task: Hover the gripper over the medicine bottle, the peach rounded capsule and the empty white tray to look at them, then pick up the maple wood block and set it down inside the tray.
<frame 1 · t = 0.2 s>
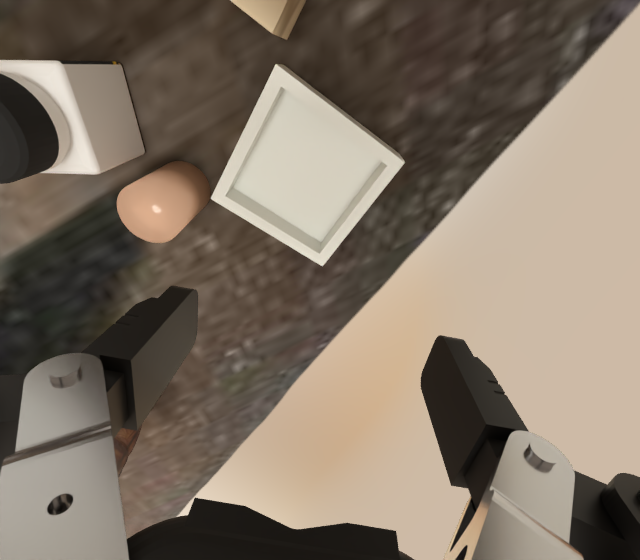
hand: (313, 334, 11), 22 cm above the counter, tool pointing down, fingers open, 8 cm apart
white tray: (306, 171, 30), on the counter
mortar and pestle: (150, 379, 49), on the counter
medicine bottle: (97, 110, 29), on the counter
peach rounded capsule: (185, 187, 32), on the counter
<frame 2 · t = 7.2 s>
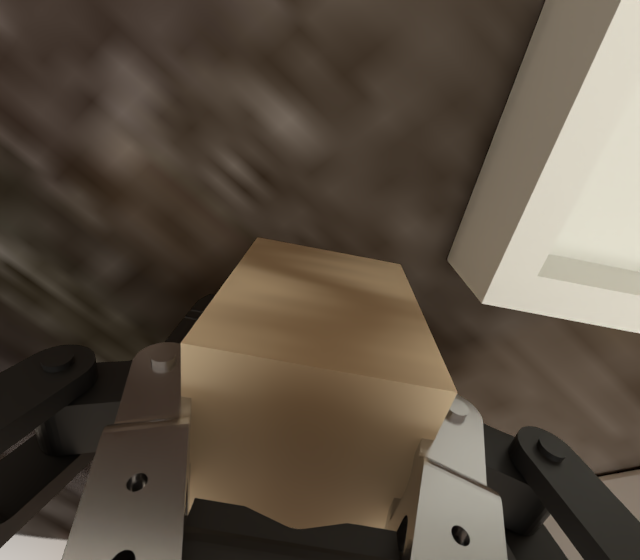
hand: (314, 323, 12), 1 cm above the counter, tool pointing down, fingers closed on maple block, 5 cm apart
maple block: (316, 312, 12), on the counter, touching gripper
medicine bottle: (590, 513, 17), on the counter
when the fingers open (4 cm above the counter, at t = 13.0 s): maple block drops 2 cm, resting on white tray.
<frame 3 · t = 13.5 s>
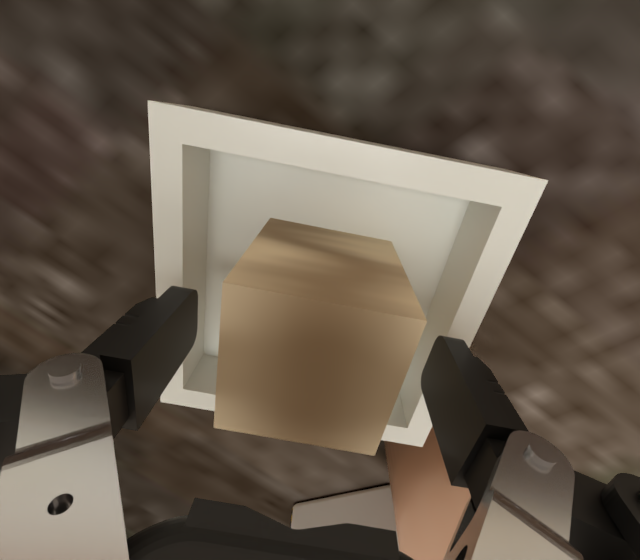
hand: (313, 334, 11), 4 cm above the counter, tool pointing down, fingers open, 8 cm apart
white tray: (320, 278, 15), on the counter
maple block: (320, 283, 14), point 1 cm above the counter, touching white tray
medicine bottle: (358, 519, 23), on the counter
peach rounded capsule: (427, 440, 19), on the counter
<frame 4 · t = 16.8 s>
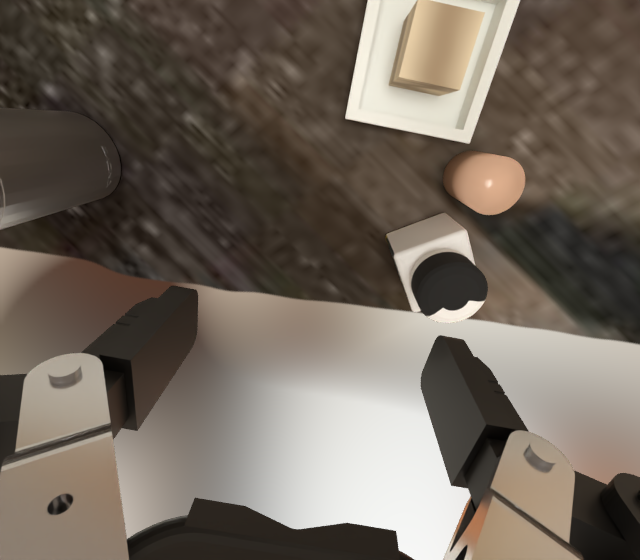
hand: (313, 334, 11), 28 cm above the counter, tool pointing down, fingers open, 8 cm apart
white tray: (420, 61, 31), on the counter
maple block: (422, 60, 30), point 1 cm above the counter, touching white tray
medicine bottle: (421, 249, 39), on the counter
peach rounded capsule: (466, 175, 35), on the counter
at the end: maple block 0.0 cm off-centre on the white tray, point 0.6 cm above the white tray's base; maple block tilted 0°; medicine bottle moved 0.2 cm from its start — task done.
